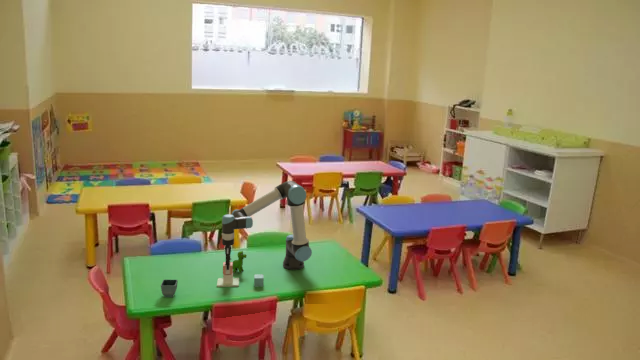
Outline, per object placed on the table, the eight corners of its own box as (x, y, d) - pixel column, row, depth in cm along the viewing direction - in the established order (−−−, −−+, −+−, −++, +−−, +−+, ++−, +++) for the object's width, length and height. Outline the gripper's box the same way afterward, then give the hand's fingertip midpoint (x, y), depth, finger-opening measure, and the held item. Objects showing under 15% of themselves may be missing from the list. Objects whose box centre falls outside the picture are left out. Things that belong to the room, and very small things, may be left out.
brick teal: (263, 282, 355) (263, 274, 354) (263, 286, 350) (263, 278, 348) (254, 282, 355) (254, 274, 353) (254, 286, 349) (254, 278, 347)
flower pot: (175, 299, 328) (175, 285, 326) (160, 299, 327) (160, 285, 325) (178, 292, 336) (177, 279, 334) (163, 292, 336) (163, 279, 333)
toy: (244, 274, 367) (244, 253, 363) (225, 271, 370) (225, 251, 366) (247, 270, 373) (247, 250, 369) (228, 268, 375) (228, 248, 372)
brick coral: (232, 270, 354) (232, 261, 352) (232, 274, 348) (232, 265, 347) (223, 270, 353) (223, 261, 352) (222, 274, 347) (222, 265, 346)
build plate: (239, 279, 359) (239, 269, 357) (238, 286, 348) (238, 276, 346) (217, 279, 357) (217, 269, 355) (216, 286, 346) (216, 276, 345)
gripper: (223, 233, 353) (222, 265, 359) (221, 243, 335) (221, 277, 341) (234, 233, 354) (234, 265, 360) (233, 243, 336) (233, 277, 342)
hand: (227, 271), depth 350 cm, fingers closed on brick coral, 6 cm apart
